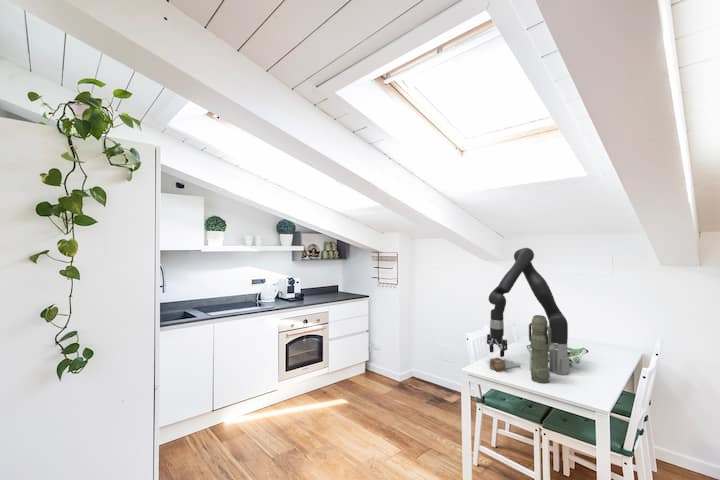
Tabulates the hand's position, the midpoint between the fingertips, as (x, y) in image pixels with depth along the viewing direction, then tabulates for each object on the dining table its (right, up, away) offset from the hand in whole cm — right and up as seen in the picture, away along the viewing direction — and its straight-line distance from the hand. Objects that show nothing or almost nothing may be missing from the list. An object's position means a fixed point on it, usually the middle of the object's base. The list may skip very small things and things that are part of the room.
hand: (496, 354), depth 204 cm
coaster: (+8, -9, +7) cm, 14 cm away
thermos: (+17, -9, -17) cm, 25 cm away
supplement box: (+23, -9, -2) cm, 25 cm away
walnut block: (0, -9, -1) cm, 9 cm away
